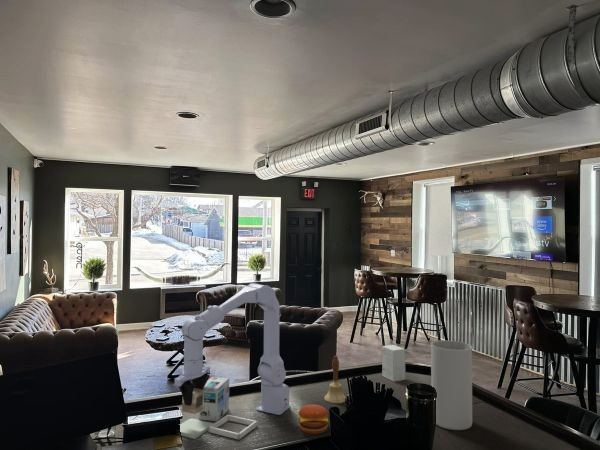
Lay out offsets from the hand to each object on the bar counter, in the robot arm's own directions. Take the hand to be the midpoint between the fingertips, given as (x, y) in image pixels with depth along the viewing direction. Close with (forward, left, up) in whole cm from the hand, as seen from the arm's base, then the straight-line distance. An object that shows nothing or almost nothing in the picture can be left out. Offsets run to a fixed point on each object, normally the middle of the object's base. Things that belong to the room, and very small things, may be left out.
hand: (192, 402), depth 132 cm
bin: (-11, -6, -8) cm, 15 cm away
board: (0, 0, -8) cm, 8 cm away
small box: (-45, -76, -9) cm, 89 cm away
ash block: (0, 0, -2) cm, 2 cm away
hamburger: (-33, -18, -9) cm, 39 cm away
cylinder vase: (-72, -41, -9) cm, 83 cm away
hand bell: (-31, -43, -9) cm, 54 cm away
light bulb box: (+1, -12, -9) cm, 15 cm away
